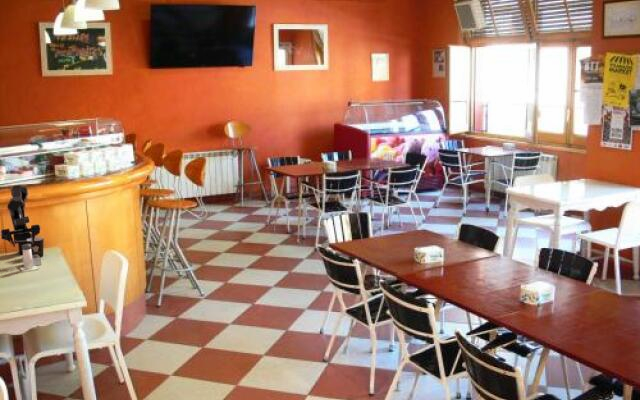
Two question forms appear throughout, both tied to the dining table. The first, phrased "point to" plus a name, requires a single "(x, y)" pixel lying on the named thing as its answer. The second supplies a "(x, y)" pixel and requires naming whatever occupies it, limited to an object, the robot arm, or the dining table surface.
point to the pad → (28, 269)
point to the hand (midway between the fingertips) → (24, 245)
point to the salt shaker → (27, 256)
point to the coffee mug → (36, 245)
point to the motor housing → (35, 260)
